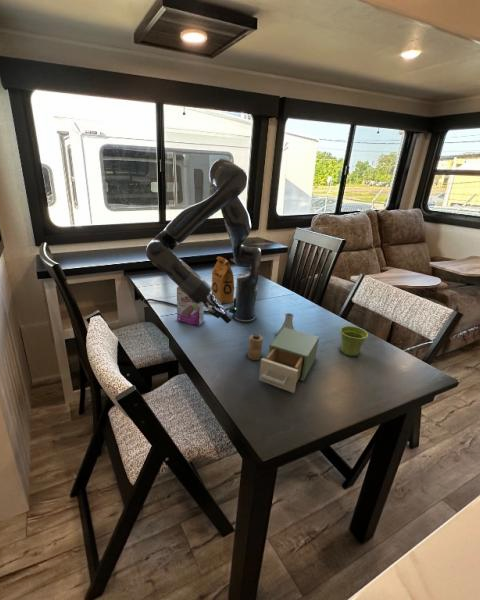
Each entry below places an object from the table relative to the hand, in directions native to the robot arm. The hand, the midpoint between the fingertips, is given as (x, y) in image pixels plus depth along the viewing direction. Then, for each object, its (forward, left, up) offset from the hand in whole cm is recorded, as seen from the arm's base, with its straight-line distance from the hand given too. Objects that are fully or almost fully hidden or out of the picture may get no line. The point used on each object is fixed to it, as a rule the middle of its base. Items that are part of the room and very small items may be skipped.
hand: (229, 319), depth 108 cm
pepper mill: (+8, +5, -15) cm, 18 cm away
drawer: (+21, -3, -14) cm, 26 cm away
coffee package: (-28, +45, -15) cm, 55 cm away
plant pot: (+37, +28, -15) cm, 49 cm away
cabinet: (+21, +8, -15) cm, 27 cm away
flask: (+13, +26, -15) cm, 33 cm away
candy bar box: (-27, +15, -15) cm, 34 cm away
